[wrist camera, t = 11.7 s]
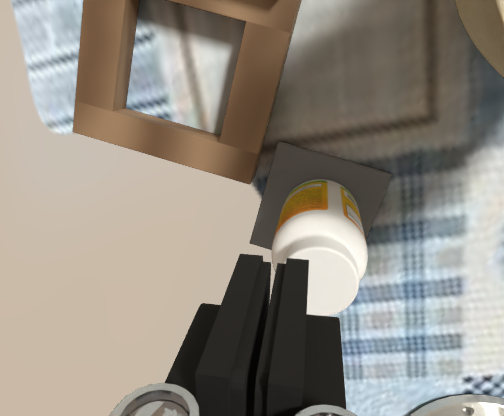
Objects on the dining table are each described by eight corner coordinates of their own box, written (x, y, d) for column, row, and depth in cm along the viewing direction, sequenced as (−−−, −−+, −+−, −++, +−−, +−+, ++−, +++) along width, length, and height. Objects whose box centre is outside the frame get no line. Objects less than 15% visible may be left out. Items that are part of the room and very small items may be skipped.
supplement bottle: (272, 232, 30) (250, 307, 21) (297, 166, 28) (284, 217, 19) (340, 258, 30) (347, 344, 21) (371, 193, 28) (393, 258, 19)
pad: (390, 173, 28) (392, 175, 27) (351, 270, 31) (352, 274, 30) (278, 140, 28) (277, 142, 28) (250, 240, 32) (249, 243, 31)
